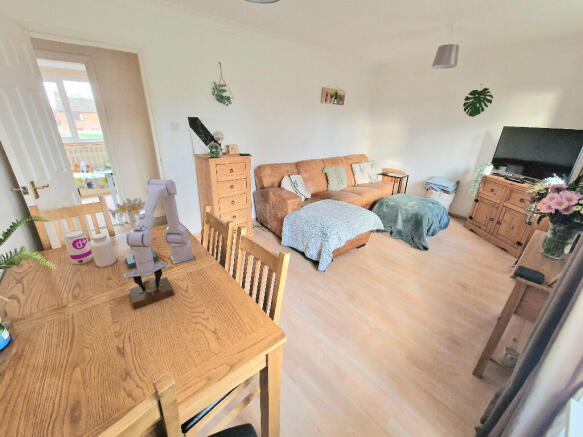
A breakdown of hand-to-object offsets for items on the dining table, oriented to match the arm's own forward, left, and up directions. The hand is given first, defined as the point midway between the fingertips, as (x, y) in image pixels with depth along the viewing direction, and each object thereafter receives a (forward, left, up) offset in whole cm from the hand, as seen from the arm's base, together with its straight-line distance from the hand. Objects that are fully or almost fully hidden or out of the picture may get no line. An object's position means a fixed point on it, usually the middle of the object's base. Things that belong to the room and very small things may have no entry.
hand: (150, 288), depth 96 cm
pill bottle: (+13, -38, -4) cm, 40 cm away
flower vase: (-2, -55, -4) cm, 55 cm away
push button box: (-1, -31, -3) cm, 31 cm away
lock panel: (0, 0, -3) cm, 3 cm away
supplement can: (+22, -47, -4) cm, 52 cm away
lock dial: (0, 0, 0) cm, 0 cm away
